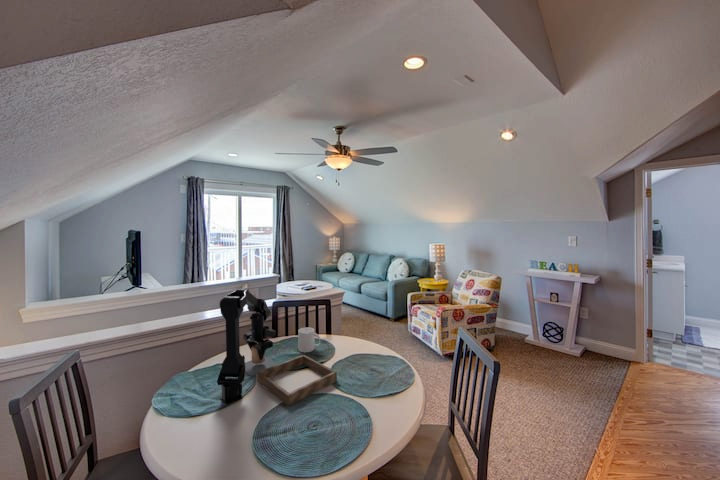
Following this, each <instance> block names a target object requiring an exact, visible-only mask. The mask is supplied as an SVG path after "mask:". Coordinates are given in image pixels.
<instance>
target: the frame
mask: <svg viewBox="0 0 720 480" xmlns="http://www.w3.org/2000/svg"><path fill="white" fill-rule="evenodd" d="M277 364H278V365H275V366H272V367H270V368H267V369H265V370H262V371H259V372H257V374H256V382H257V383H258V384H259V385H261V386H263V388H265V389H266V390H267V391H268V392H270V393H271V394H273V395H274V397H276V398H277V399H279V400H280V401H281V402H282V403H285V405H286V406H288V407H289V406H290V405H292V404H294V403H297V402H298V401H301V400H302V399H304V398H306V397H308V396H310V395H312V394H314V393H315V392H316V393H317V392H318V391H320V390H322V389H324V388H326V387H328V386H330V385H332V384H334V383H335V382H337V380H338V373H337V371H335V370H333V369H332V368H330V367H328V366H326V365H324V364H322V363H321V362H318V361H316V360H315V359H313V358H312V357H310V356H308V355H305V354H301V355H299V356H295V357H294V358H291V359H289V360H286V361H282V362H280V363H277ZM302 365H304V366H306V367H308V368H309V369H311V370H313V371H315V372H316V373H318V374H320V375H321V376H322V377H320V378H317V379H316V380H314V381H311V382H308V383H307V384H304V385H302V386H301V387H298V388H297V389H294V390H293V391H290V392H288V391H287V389H284V388H283V387H281V385H279V384H277V382H275V381H273V380H272V379H271V378H273V377H275V376H277V375H281V374H282V373H285V372H288V371H290V370H292V369H294V368H297V367H299V366H302Z"/></svg>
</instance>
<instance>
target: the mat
mask: <svg viewBox="0 0 720 480" xmlns="http://www.w3.org/2000/svg"><path fill="white" fill-rule="evenodd" d="M278 364H279V363H277V362H275V361H273V360H272V359H271V358H268V357H267V356H266V355H265V361H264V362H262V363H259V364H254V363H252V359H251V360H249V361H248V360H247V361H245V374H247V375H249V376H250V377H253V376H257V372H259V371H262V370H265V369H267V368H270V367H272V366H275V365H278Z"/></svg>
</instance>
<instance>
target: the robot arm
mask: <svg viewBox="0 0 720 480" xmlns="http://www.w3.org/2000/svg"><path fill="white" fill-rule="evenodd" d="M246 306H247V309H248V311H249V312H250V313H252V314H251V315H250V316H249V320H250V327H249V332H245V333H244V334H243V336H242V337H243V338H242V340H244V341H245V343H246V344H247V346H248V348H249V350H250V351H251V352H252V348H251V347H252V346H253V345H256V344H257V347H256V350H257V353H258V356H259V358H260V360H262V359H263V357H264V353H265V354H266V350H268V349H270V348H274V342H273V341H272V340H270V339H269V338H272V339H273V338H274V337H275V334H276V330H274V329H273V328H272V329H271V328H270V327H269V326H268V325H265V322H266V321H267V320H268V319H269V318H270V317H271V315H272V312H271V310H270V309H269V307H268V305H267V303H266V300H265V299H263V298H258V297H256V296H255V295H253V294H252V293H251V292H250V290H249V289H247V288H237V289H235V290H233V291H232V292H229V293H227V294H225V296H223V298H221V299H220V300H219V308H220V309H219V310H220V315H222V317H223V318H224V320H225V349H226V350H225V351H226V353H225V354H226V355H225V358H224V359H223V361H222V363H221V368H220V371H219V374H218V377H217V379H216V383H217V386H221V395H220V397H219V398H220V400H221V401H223V404H225V405H229V404H231V403H233V402H236V401H238V400H240V399H242V398H243V397H244V396H243V384H242V383H243V382H244V380H245V377H246V376H245V375H246V372H245V362H246V357H245V355H242V353H241V351H240V317H241V316H242V314H243V312H244V307H246Z"/></svg>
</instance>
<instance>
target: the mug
mask: <svg viewBox="0 0 720 480" xmlns="http://www.w3.org/2000/svg"><path fill="white" fill-rule="evenodd" d="M297 332H298V333H297V334H298V335H297V336H298V337H297V339H298V345H297V346H298V347H297V348H298V351H299V352H300V353H303V352H304V353H305V354H306V352H307V353H311V352H313V351H314V350H315V348H318V347H319V346H320V345H321V336H320V335H319V334H318V333H316V332H315V328H313V327H309V326H308V327H301V328H299V329H298V331H297ZM316 338H318V339H319V342H318V344H317V343H315V339H316Z"/></svg>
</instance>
